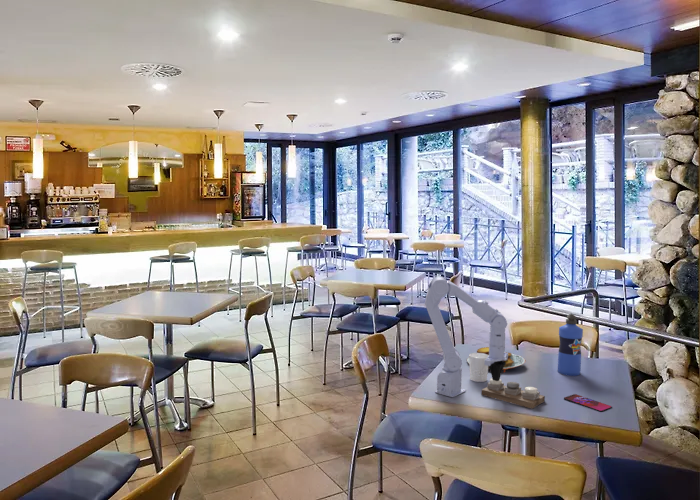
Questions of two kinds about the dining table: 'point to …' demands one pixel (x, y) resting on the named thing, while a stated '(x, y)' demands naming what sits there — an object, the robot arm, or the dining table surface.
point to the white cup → (478, 367)
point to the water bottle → (570, 347)
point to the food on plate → (510, 362)
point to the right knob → (531, 390)
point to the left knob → (495, 382)
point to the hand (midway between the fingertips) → (495, 380)
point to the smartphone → (587, 402)
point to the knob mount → (513, 394)
